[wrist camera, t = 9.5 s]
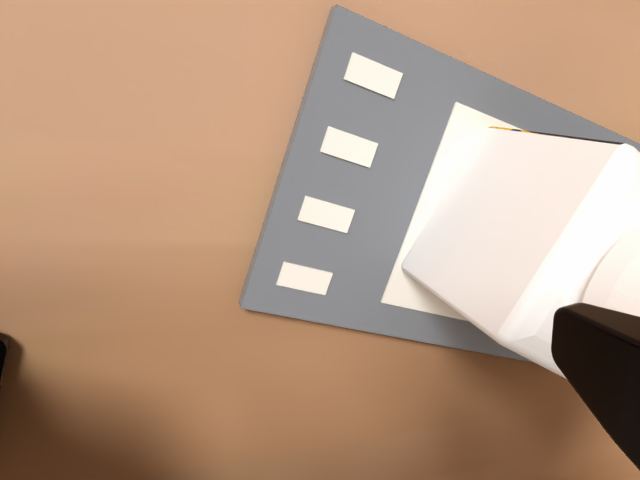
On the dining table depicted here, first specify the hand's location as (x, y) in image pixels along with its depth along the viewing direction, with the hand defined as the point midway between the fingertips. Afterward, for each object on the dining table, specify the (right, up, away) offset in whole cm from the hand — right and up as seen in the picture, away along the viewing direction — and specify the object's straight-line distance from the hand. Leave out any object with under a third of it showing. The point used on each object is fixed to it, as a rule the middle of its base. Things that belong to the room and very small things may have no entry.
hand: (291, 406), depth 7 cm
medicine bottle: (+8, +3, +15) cm, 18 cm away
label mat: (+7, +3, +15) cm, 17 cm away
